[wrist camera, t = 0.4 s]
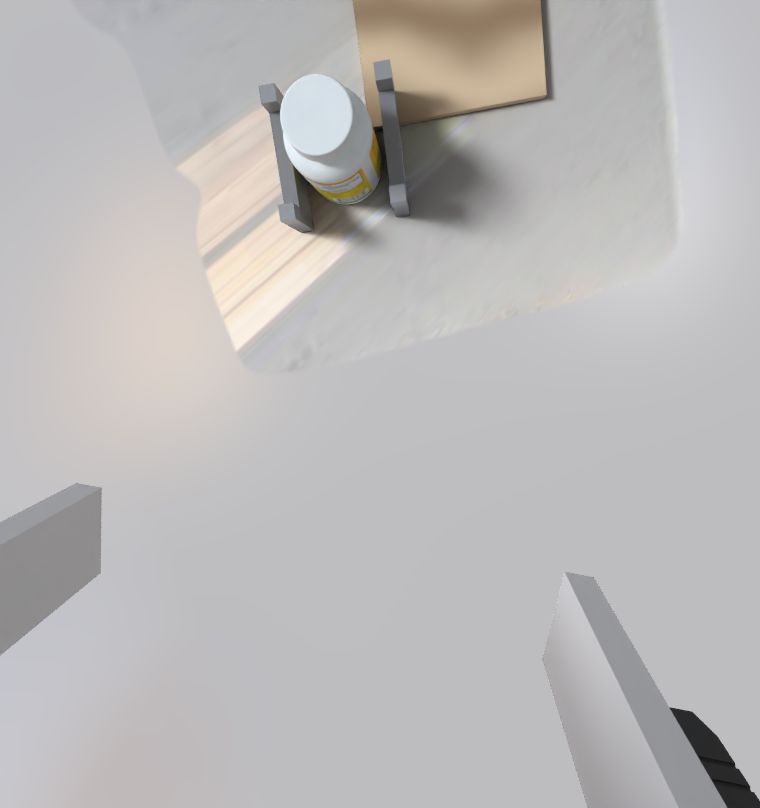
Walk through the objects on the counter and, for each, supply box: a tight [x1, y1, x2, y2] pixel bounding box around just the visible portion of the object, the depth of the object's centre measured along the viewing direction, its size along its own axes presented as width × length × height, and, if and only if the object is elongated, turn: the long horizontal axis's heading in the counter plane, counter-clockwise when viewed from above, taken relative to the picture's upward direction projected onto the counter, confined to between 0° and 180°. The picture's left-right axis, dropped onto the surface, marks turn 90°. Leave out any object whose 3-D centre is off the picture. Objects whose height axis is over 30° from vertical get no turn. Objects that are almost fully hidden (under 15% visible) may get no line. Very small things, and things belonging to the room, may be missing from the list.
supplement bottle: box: [280, 74, 382, 205], centre depth 30 cm, size 5×5×10 cm
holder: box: [259, 59, 410, 233], centre depth 33 cm, size 8×8×5 cm
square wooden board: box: [353, 0, 547, 130], centre depth 32 cm, size 12×12×1 cm
